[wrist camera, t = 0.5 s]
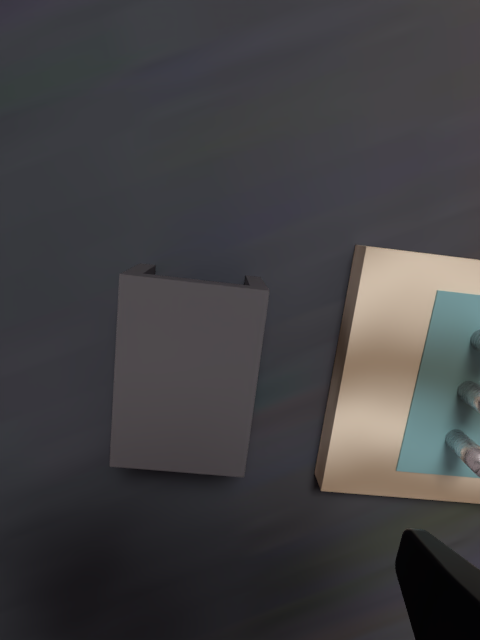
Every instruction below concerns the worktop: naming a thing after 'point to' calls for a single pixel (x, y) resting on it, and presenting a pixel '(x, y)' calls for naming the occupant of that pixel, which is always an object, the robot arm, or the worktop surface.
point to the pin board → (406, 380)
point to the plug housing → (185, 372)
